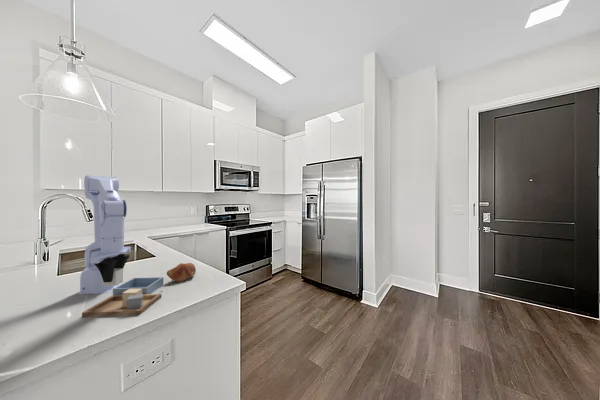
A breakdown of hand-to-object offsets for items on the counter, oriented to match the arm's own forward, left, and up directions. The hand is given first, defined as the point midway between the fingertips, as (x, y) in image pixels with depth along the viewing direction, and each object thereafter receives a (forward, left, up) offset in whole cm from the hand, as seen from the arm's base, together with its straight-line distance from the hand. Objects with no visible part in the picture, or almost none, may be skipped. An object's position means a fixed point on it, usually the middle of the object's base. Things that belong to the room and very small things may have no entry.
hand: (112, 279), depth 72 cm
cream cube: (+6, 0, -8) cm, 10 cm away
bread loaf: (+12, +24, -9) cm, 28 cm away
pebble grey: (0, 0, -1) cm, 1 cm away
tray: (+5, -1, -9) cm, 10 cm away
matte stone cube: (+9, -3, -8) cm, 13 cm away
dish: (+2, +12, -9) cm, 15 cm away
